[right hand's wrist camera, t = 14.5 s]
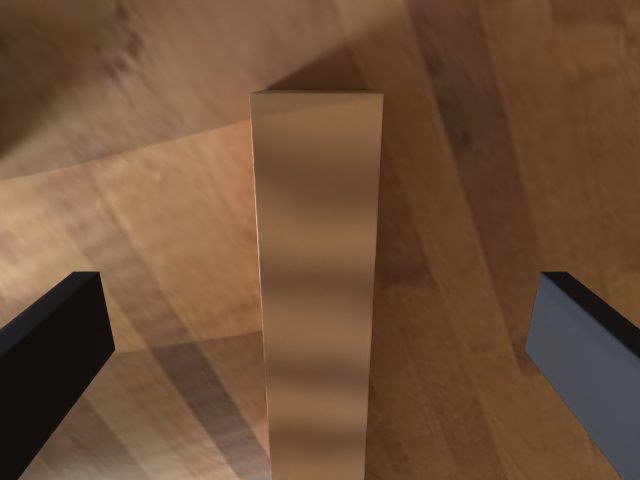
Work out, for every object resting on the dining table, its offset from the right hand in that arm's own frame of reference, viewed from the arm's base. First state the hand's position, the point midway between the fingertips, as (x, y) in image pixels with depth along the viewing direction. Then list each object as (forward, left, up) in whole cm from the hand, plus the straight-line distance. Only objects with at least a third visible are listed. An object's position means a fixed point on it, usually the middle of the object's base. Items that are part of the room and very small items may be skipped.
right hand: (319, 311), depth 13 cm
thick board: (-4, -34, -26) cm, 43 cm away
